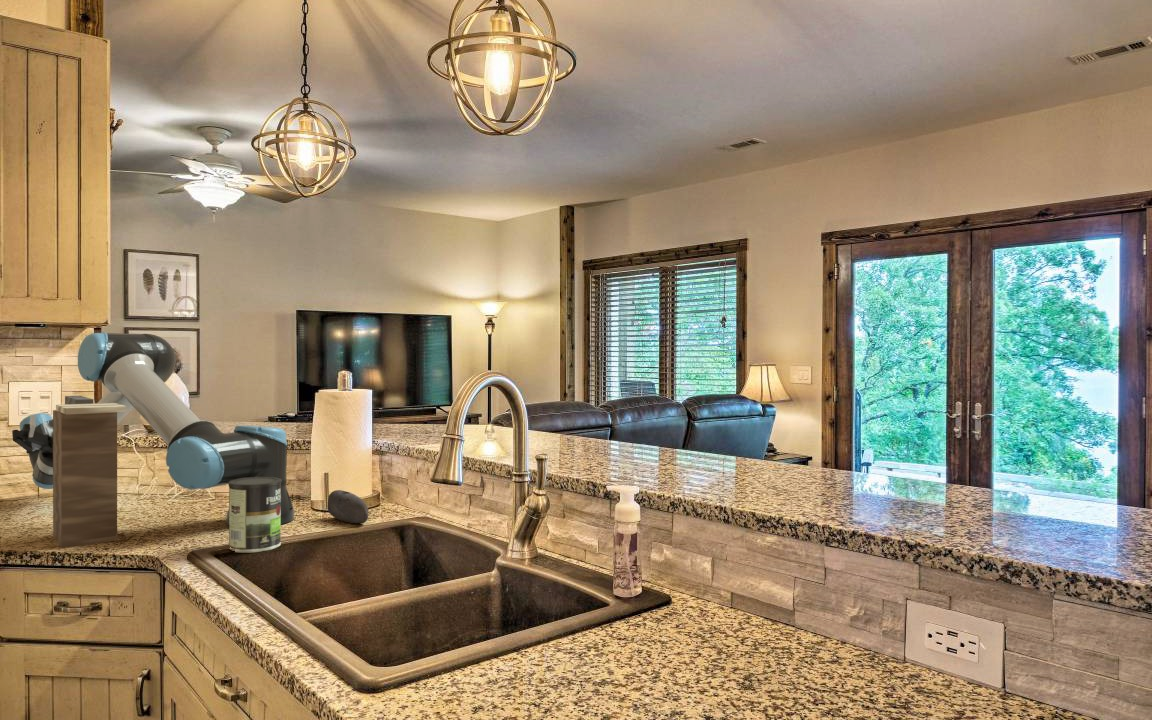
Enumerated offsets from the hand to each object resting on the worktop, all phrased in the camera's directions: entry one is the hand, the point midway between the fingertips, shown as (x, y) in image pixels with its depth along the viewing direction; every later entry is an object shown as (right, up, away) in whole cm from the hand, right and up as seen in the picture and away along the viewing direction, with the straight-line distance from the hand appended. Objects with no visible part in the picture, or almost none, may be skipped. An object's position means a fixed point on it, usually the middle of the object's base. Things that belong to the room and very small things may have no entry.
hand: (68, 418), depth 179 cm
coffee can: (+53, -26, -20) cm, 62 cm away
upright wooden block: (+13, -25, -14) cm, 32 cm away
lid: (+13, +3, -14) cm, 19 cm away
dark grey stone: (+66, -26, +4) cm, 71 cm away
